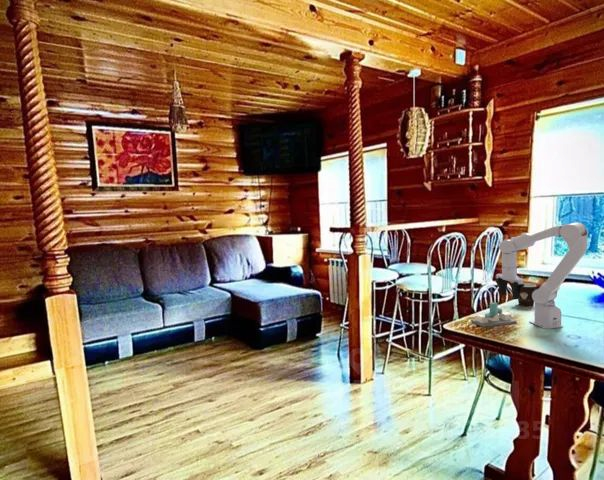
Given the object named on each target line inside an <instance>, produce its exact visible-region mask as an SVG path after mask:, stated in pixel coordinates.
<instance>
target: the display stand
mask: <svg viewBox="0 0 604 480" xmlns="http://www.w3.org/2000/svg"><path fill="white" fill-rule="evenodd" d="M470 321H471V323H473V324H475V325H477V326H479V327H482V328H487V327H494V326H503V325H513V324H512V323H514V324H517V323H518V320H515V319H513V318H512V314H511V313H510V312H507V311H502V313H500V314H497V315H496V316H495V315H494V318H485V314H483V313H481V314H480V313H479V314H476V315H475V318H471V319H470Z"/></svg>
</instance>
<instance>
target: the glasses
mask: <svg viewBox="0 0 604 480" xmlns="http://www.w3.org/2000/svg"><path fill="white" fill-rule="evenodd" d="M498 305H499V304H498V302H494V301H491V302H489V312H487V313H484V315H485V318H494V315H495V316H496V315H497V314H498V315H499V314H500V313H502V312H503V310H502V308H498V307H499V306H498Z"/></svg>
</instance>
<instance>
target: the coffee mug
mask: <svg viewBox="0 0 604 480" xmlns="http://www.w3.org/2000/svg"><path fill="white" fill-rule="evenodd" d="M523 284H524V286H523V288H522V289H521V292H520V295H519V298H518V299H517V301H518V306H520V307H524V308H525V307H527V308H531V307H532V308H533V307H535V302H534V300H533V299H532V293H533V292H534V291H535V290H537V289H538V288H537V285H536V283H535V284H534V283H528V282H523Z"/></svg>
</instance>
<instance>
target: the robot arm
mask: <svg viewBox="0 0 604 480" xmlns="http://www.w3.org/2000/svg"><path fill="white" fill-rule="evenodd" d="M588 236H589V232H588V229H587V227H586V226H585V224H583V223H581V222H577V221H575V222H572V223H565V224H562V225H555V226H552V227H550V228H547V229H544V230H541V231H538V232H535V233H534V234H531V233H529V232H522V233H520V235H518V236H512V237H511V236H510V239H505V240H503V241H501V242H500V243H499V250H500V251H501V273H497V274H496V276H495V278H496V279H495V281H494V282H495V283H496V285H497V287H498V289H499V293H500V296H501V297H503V296H507V292H508V291H507V290H508V284H509V286H510V288H511V295H512V299H513V300H518V298H519V295H520V292H521V289H522V288H523V286H524V284H523V283H524V279H523V278H521V277H519V275H517V274H518V273H517V257H518V256H517V251H520V250H524V249H527V248H530V247H533V246H534V245H535V244H536V242H538V241H542V240H545V239H549V238H551V237H552V238H553V237H555V238H562V239H563V241H564V242H565V243H566V246H567V247H568V251H567V252H566V253H565V255H564V256H563V257H562V259H561V260H560V262H559V263H558V265H556V267H555V269H554V270H553V271H552V273H551V274H550V275H549V277H548V278H547V279H546V281H545V282H543V283H542V284H541V285H540V286H539V288H536V289H537V290H535V291H534V292H533V293H532V299H533V300H534V320H530V321H529V323H530V324H533V325H536V326H538V327H540V328H542V329H543V328H544V329H546V330H547V329H556V328H563V327H564V325H562V311H561V308H559V307H558V306H556V303H555V299H557V296H558V292H559V290H560V286H561V285H562V284H563V283H564V281H565V279H567V277H568V276H569V274H571V272H572V271H573V270H574V268H575V267H576V266H577V264H578V263H579V262H580V261H581V259H582V258H583V256H585V254H586V253H587V250H588ZM509 282H511V283H509Z"/></svg>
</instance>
